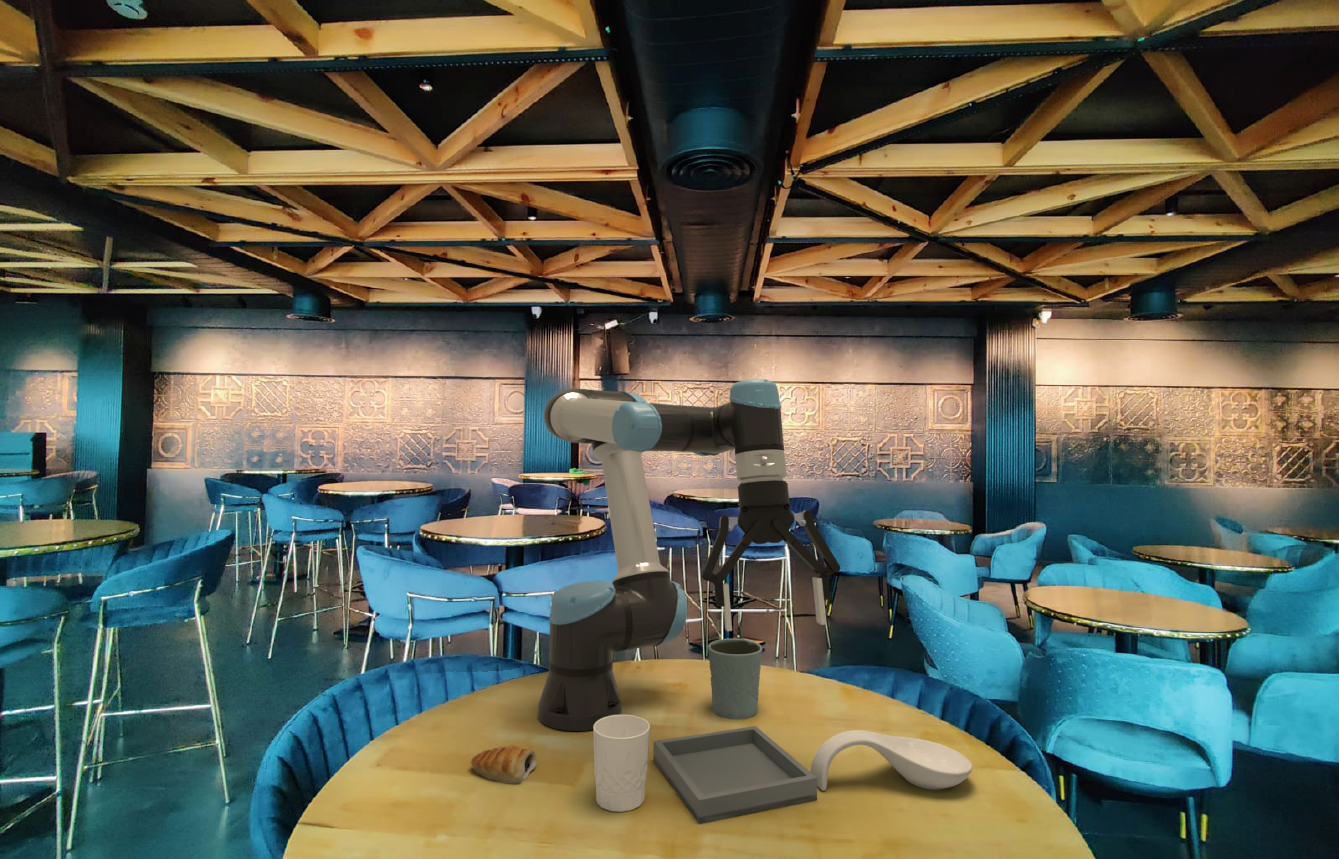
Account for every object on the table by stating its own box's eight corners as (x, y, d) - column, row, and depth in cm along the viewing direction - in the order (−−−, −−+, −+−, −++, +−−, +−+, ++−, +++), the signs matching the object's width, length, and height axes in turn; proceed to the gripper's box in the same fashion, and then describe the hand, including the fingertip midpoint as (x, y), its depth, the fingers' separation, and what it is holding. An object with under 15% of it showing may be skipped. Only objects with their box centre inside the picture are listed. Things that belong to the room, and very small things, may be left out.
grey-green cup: (769, 707, 121) (770, 643, 122) (748, 726, 113) (748, 657, 113) (721, 696, 126) (722, 635, 127) (697, 713, 118) (698, 648, 118)
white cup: (651, 786, 91) (653, 716, 92) (644, 817, 84) (645, 740, 84) (598, 782, 92) (599, 712, 93) (585, 812, 84) (587, 736, 85)
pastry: (461, 780, 93) (462, 753, 93) (484, 759, 99) (484, 734, 99) (521, 787, 91) (522, 760, 91) (540, 765, 97) (541, 740, 98)
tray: (653, 760, 99) (653, 741, 99) (755, 744, 105) (755, 726, 105) (698, 823, 82) (699, 800, 82) (817, 799, 88) (817, 778, 89)
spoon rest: (942, 759, 102) (942, 714, 102) (990, 798, 90) (989, 747, 90) (801, 767, 98) (801, 720, 99) (831, 809, 87) (831, 755, 87)
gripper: (680, 484, 92) (690, 636, 88) (851, 473, 92) (868, 624, 89) (679, 488, 99) (688, 628, 96) (837, 478, 100) (852, 617, 96)
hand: (775, 627), depth 92 cm, fingers open, 13 cm apart
